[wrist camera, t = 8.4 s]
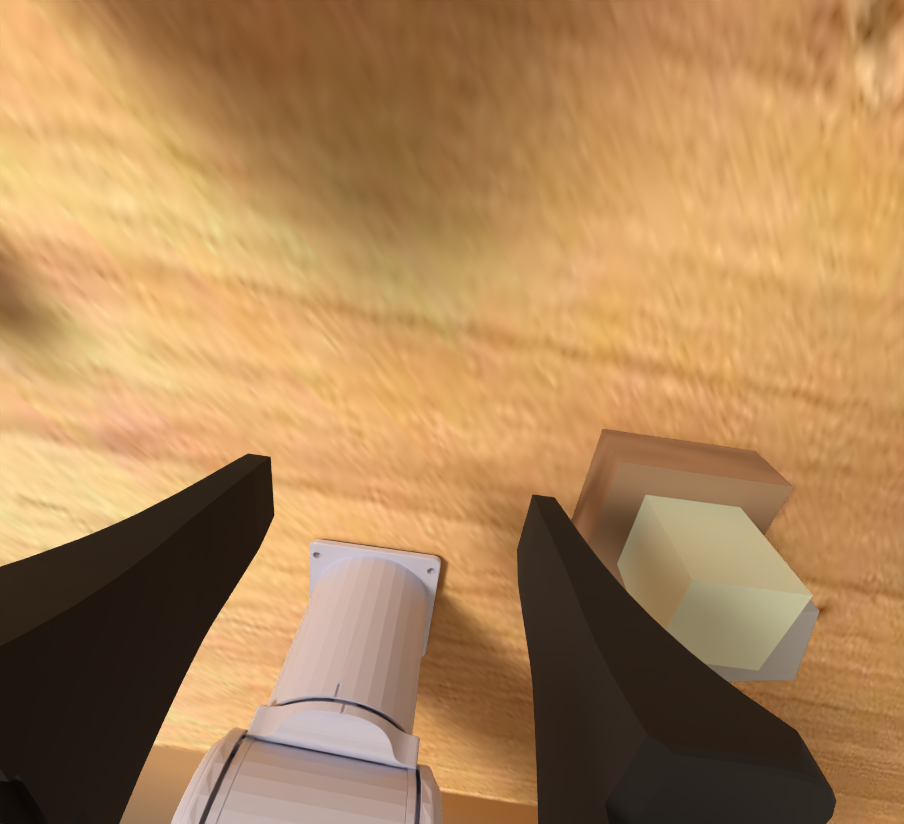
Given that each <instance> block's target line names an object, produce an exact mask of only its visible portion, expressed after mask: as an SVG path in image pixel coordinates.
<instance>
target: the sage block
mask: <svg viewBox="0 0 904 824" xmlns="http://www.w3.org/2000/svg"><path fill="white" fill-rule="evenodd" d="M617 566H618V568H619V571H620V574H621V576H622V579H623V582H624V584H625V587H626V590H627V592H628V593H629V594H630V595H631V596H632V597H633V598H634V599H635V600H636V601H637V602H638V603H639V604H640V605H641V606H642V607H643V608H644V609H645V610H646V612H647V613H648V614H649V615H650V616H651V617H652V618H653V619H655V620H656V621H657V622H658V623H659V624H660V625H661V626H662V627H663V628H664V629H665V630H666V631H667V632H669V633H670V634H671V635H672V636H673V637H674V638H675V639H676V640H678V641H679V642H680V643H681V644H682V645H683V646H684V647H685V648H687V649H688V650H689V651H690V652H691V653H692V654H694V655H695V656H696V657H697V658H698V659H700V660H701V661H702V662H703V663H705V664H711V665H719V666H726V667H734V668H742V669H750V670H757V671H759V669H760V668H761V666H762V665H763V664H764V662H765V661H766V660H767V658H768V657H769V655H770V654H771V653H772V651H773V650H774V649H775V647H776V646H777V644H778V643H779V642H780V640H781V639H782V638H783V636H784V635H785V634H786V632H787V631H788V629H789V628H790V627H791V625H792V624H793V623H794V621H795V620H796V618H797V617H798V616H799V614H800V613H801V612H802V610H803V609H804V607H805V606H806V605H807V603H808V602H809V601H810V599H811V598H812V596H813V595H812V594H811V593H810V592H809V590H808V589H807V588H806V587H805V585H804V584H803V583H802V582H801V581H800V579H799V578H798V577H797V576H796V574H795V573H794V572H793V571H792V570H791V568H790V567H789V566H788V565H787V563H786V562H785V561H784V560H783V559H782V557H781V556H780V555H779V554H778V553H777V551H776V550H775V549H774V548H773V546H772V545H771V544H770V543H769V542H768V540H767V539H766V538H765V537H764V535H763V534H762V533H761V532H760V531H759V529H758V528H757V527H756V526H755V524H754V523H753V522H752V521H751V520H750V518H749V517H748V516H747V515H746V514H745V512H744V511H743V510H742V509H741V507H734V506H726V505H719V504H712V503H704V502H697V501H689V500H682V499H674V498H667V497H660V496H652V495H645V498H644V500H643V502H642V505H641V507H640V510H639V512H638V514H637V517H636V519H635V522H634V524H633V527H632V529H631V531H630V534H629V536H628V539H627V541H626V544H625V546H624V548H623V551H622V553H621V556H620V558H619V561H618V563H617Z"/></svg>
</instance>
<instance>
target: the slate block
mask: <svg viewBox="0 0 904 824" xmlns="http://www.w3.org/2000/svg"><path fill="white" fill-rule="evenodd" d="M818 614H819V610H818V608H817V607H816V606H815V605H814V604H813V602H812V601H811V600H810V601H809V602H808V603H807V605H806V606H805V607H804V609H803V610H802V612H801V613H800V614H799V616H798V617H797V618H796V620H795V621H794V623H793V624H792V625H791V627H790V628H789V629H788V631H787V632H786V634H785V635H784V636H783V638H782V639H781V640H780V642H779V643H778V644H777V646H776V647H775V649H774V650H773V651H772V653H771V654H770V655H769V657H768V658H767V660H766V661H765V662H764V664H763V665H762V666H761V668H760V669H759V671H757V670H750V669H742V668H734V667H726V666H719V665H711V664H706V665H707V666H708V667H709V668H711V669H712V670H713V671H715V672H716V673H717V674H718V675H720V676H721V677H722V678H724V679H725V680H726V681H728V682H743V681H785V680H795V677H796V674H797V671H798V669H799V666H800V663H801V660H802V658H803V655H804V652H805V650H806V647H807V644H808V641H809V639H810V636H811V633H812V630H813V628H814V625H815V622H816V619H817V617H818Z"/></svg>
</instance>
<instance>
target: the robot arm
mask: <svg viewBox="0 0 904 824" xmlns="http://www.w3.org/2000/svg"><path fill="white" fill-rule="evenodd" d="M273 517H274V503H273V487H272V471H271V457H268V456H261V455H254V454H247V455H245V456H243V457H241V458H239V459H237V460H235V461H234V462H232V463H230V464H228V465H227V466H225V467H223V468H221V469H220V470H218V471H216V472H214V473H213V474H211V475H209V476H207V477H206V478H204V479H202V480H200V481H198V482H197V483H195V484H193V485H191V486H190V487H188V488H186V489H184V490H182V491H181V492H179V493H177V494H175V495H173V496H171V497H169V498H167V499H165V500H163V501H161V502H159V503H157V504H155V505H154V506H152V507H150V508H148V509H146V510H144V511H142V512H140V513H138V514H136V515H134V516H131V517H129V518H127V519H125V520H123V521H121V522H118V523H116V524H114V525H112V526H109V527H107V528H105V529H102V530H100V531H97V532H95V533H93V534H90V535H88V536H85V537H83V538H80V539H78V540H75V541H72V542H70V543H67V544H64V545H61V546H59V547H56V548H53V549H51V550H48V551H45V552H42V553H40V554H37V555H34V556H31V557H29V558H26V559H23V560H20V561H17V562H13V563H10V564H7V565H4V566H1V567H0V824H119V823H120V820H121V818H122V815H123V813H124V811H125V808H126V806H127V804H128V801H129V799H130V796H131V794H132V792H133V789H134V787H135V785H136V782H137V780H138V777H139V775H140V772H141V770H142V768H143V766H144V764H145V761H146V759H147V757H148V755H149V752H150V750H151V748H152V746H153V743H154V741H155V739H156V737H157V735H158V732H159V730H160V728H161V726H162V723H163V721H164V719H165V717H166V715H167V713H168V711H169V708H170V706H171V704H172V702H173V700H174V698H175V696H176V694H177V692H178V689H179V687H180V685H181V683H182V681H183V679H184V677H185V675H186V673H187V671H188V669H189V667H190V665H191V663H192V661H193V659H194V657H195V655H196V653H197V651H198V649H199V647H200V645H201V643H202V641H203V639H204V637H205V636H206V634H207V632H208V630H209V629H210V627H211V625H212V623H213V622H214V620H215V619H216V617H217V615H218V614H219V612H220V611H221V609H222V607H223V606H224V604H225V603H226V601H227V600H228V598H229V596H230V595H231V593H232V592H233V590H234V588H235V587H236V585H237V584H238V582H239V580H240V579H241V577H242V576H243V574H244V572H245V571H246V569H247V568H248V566H249V564H250V563H251V561H252V560H253V558H254V556H255V555H256V553H257V551H258V550H259V548H260V546H261V544H262V542H263V540H264V537H265V535H266V533H267V531H268V529H269V526H270V524H271V522H272V519H273ZM317 552H318V553H320V554H318V553H317ZM309 562H310V600H309V603H308V605H307V607H306V610H305V612H304V615H303V617H302V620H301V622H300V625H299V627H298V630H297V632H296V635H295V637H294V640H293V642H292V644H291V647H290V649H289V652H288V654H287V657H286V659H285V662H284V664H283V667H282V669H281V672H280V674H279V677H278V679H277V682H276V684H275V686H274V689H273V691H272V694H271V696H270V699H269V701H268V704H267V706H266V705H259V706H258V708H257V710H256V713H255V715H254V717H253V720H252V722H251V724H250V727H249V729H248V730H245V729H240V728H234V729H232V730H231V731H229V732H228V733H227V734H226V736H224V737H223V738H221V739H220V740H218V741H217V742H216V743H214V744H213V745H212V747H211V748H210V749H209V750H208V752H207V753H206V755H205V756H204V758H203V759H202V761H201V763H200V765H199V766H198V768H197V770H196V772H195V773H194V775H193V777H192V779H191V781H190V783H189V785H188V787H187V789H186V791H185V793H184V795H183V798H182V800H181V802H180V804H179V806H178V808H177V811H176V813H175V815H174V817H173V820H172V822H171V824H442V800H441V793H440V789H439V786H438V784H437V782H436V781H435V779H434V776H433V773H432V770H431V769H430V767H429V766H427V765H420V764H417V759H418V750H419V740H420V739H419V737H417V736H413V735H412V733H413V725H414V716H415V708H416V699H417V691H418V682H419V674H420V665H421V657H423V656H425V653H426V647H427V642H428V636H429V630H430V624H431V619H432V613H433V607H434V601H435V596H436V590H437V584H438V579H439V573H440V567H441V559H440V558H439V557H438V556H435V555H429V554H422V553H415V552H408V551H400V550H393V549H386V548H379V547H372V546H365V545H358V544H351V543H343V542H336V541H329V540H322V539H315V540H313V541H312V542H311V544H310V547H309ZM517 562H518V586H519V594H520V600H521V607H522V614H523V620H524V627H525V633H526V640H527V646H528V653H529V659H530V666H531V675H532V684H533V701H534V718H535V739H536V762H537V793H538V824H826V823H827V822H828V821H829V820H830V819H831V817H832V815H833V812H834V808H835V804H836V798H835V796H834V793H833V790H832V788H831V787H830V785H829V783H828V782H827V780H826V778H825V777H824V775H823V773H822V771H821V770H820V768H819V766H818V765H817V763H816V761H815V760H814V758H813V756H812V755H811V753H810V751H809V749H808V748H807V746H806V744H805V743H804V741H803V740H802V738H801V736H800V735H799V733H798V732H797V731H796V730H795V729H793V728H792V727H791V726H789V725H788V724H786V723H785V722H783V721H782V720H781V719H779V718H778V717H776V716H775V715H773V714H772V713H770V712H769V711H768V710H766V709H765V708H763V707H762V706H760V705H759V704H758V703H756V702H755V701H753V700H752V699H750V698H749V697H748V696H746V695H745V694H743V693H742V692H741V691H739V690H738V689H737V688H735V687H734V686H733V685H731V684H730V683H729V682H728V681H726V680H725V679H724V678H722V677H721V676H720V675H718V674H717V673H716V672H715V671H713V670H712V669H711V668H709V667H708V666H707V665H706V664H705V663H703V662H702V661H701V660H700V659H698V658H697V657H696V656H695V655H694V654H692V653H691V652H690V651H689V650H688V649H687V648H685V647H684V646H683V645H682V644H681V643H680V642H679V641H678V640H676V639H675V638H674V637H673V636H672V635H671V634H670V633H669V632H667V631H666V630H665V629H664V628H663V627H662V626H661V625H660V624H659V623H658V622H657V621H656V620H655V619H653V618H652V617H651V616H650V615H649V614H648V613H647V612H646V610H645V609H644V608H643V607H642V606H641V605H640V604H639V603H638V602H637V601H636V600H635V599H634V598H633V597H632V596H631V595H630V594H629V593H628V592H627V591H626V590H625V589H624V588H623V586H622V585H621V584H620V583H619V582H618V581H617V580H616V578H615V577H614V576H613V575H612V574H611V573H610V571H609V570H608V569H607V568H606V567H605V565H604V564H603V563H602V562H601V561H600V559H599V558H598V557H597V556H596V554H595V553H594V552H593V550H592V549H591V548H590V546H589V545H588V544H587V542H586V541H585V540H584V538H583V537H582V536H581V534H580V533H579V531H578V530H577V529H576V527H575V526H574V524H573V523H572V522H571V520H570V519H569V517H568V516H567V514H566V513H565V512H564V510H563V509H562V507H561V506H560V504H559V503H558V502H557V500H556V499H555V498H554V497H547V496H540V495H532V499H531V502H530V506H529V509H528V513H527V517H526V520H525V524H524V527H523V531H522V534H521V538H520V542H519V545H518V549H517ZM430 568H433V569H432V570H431V569H430Z"/></svg>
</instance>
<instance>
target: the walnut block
mask: <svg viewBox="0 0 904 824" xmlns="http://www.w3.org/2000/svg"><path fill="white" fill-rule="evenodd" d="M792 489H793V486H792V485H791V484H790V483H789V482H788V481H787V480H785V479H784V478H783V477H782V476H781V475H780V474H779V473H778V472H777V471H776V470H775V469H774V468H773V467H772V466H771V465H770V464H769V463H768V462H767V461H765V460H764V459H763V458H762V457H761V456H760V455H759V454H758V453H757V452H755V451H749V450H742V449H735V448H728V447H721V446H715V445H708V444H701V443H694V442H687V441H680V440H674V439H667V438H660V437H653V436H646V435H639V434H633V433H626V432H619V431H612V430H605V429H603V430H602V433H601V436H600V439H599V442H598V445H597V448H596V451H595V454H594V457H593V460H592V463H591V466H590V468H589V471H588V474H587V477H586V480H585V483H584V486H583V489H582V492H581V495H580V498H579V501H578V504H577V507H576V509H575V512H574V515H573V518H572V521H571V522H572V523H573V524H574V526H575V527H576V529H577V530H578V531H579V533H580V534H581V536H582V537H583V538H584V540H585V541H586V542H587V544H588V545H589V546H590V548H591V549H592V550H593V552H594V553H595V554H596V556H597V557H598V558H599V559H600V561H601V562H602V563H603V564H604V565H605V567H606V568H607V569H608V570H609V571H610V573H611V574H612V575H613V576H614V577H615V578H616V580H617V581H618V582H619V583H620V584H621V585H622V586H623V588H624V589H625V590H626V587H625V584H624V582H623V579H622V576H621V574H620V571H619V568H618V566H617V563H618V561H619V558H620V556H621V553H622V551H623V548H624V546H625V544H626V541H627V539H628V536H629V534H630V531H631V529H632V527H633V524H634V522H635V519H636V517H637V514H638V512H639V510H640V507H641V505H642V502H643V500H644V498H645V495H652V496H660V497H667V498H674V499H682V500H689V501H697V502H704V503H712V504H719V505H726V506H734V507H741V509H742V510H743V511H744V512H745V514H746V515H747V516H748V517H749V518H750V520H751V521H752V522H753V523H754V524H755V526H756V527H757V528H758V529H759V531H760V532H761V533H762V534H763V535H764V534H765V533H766V531H767V529H768V528H769V526H770V524H771V523H772V521H773V520H774V518H775V516H776V515H777V513H778V511H779V510H780V508H781V507H782V505H783V503H784V502H785V500H786V498H787V497H788V495H789V494H790V492H791V490H792ZM626 591H627V590H626Z"/></svg>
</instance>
